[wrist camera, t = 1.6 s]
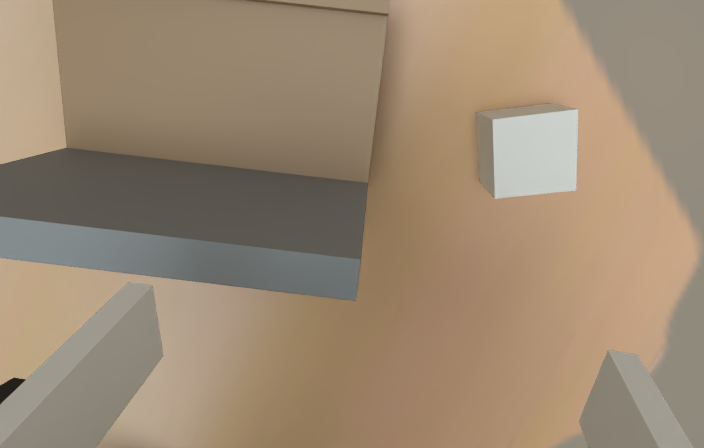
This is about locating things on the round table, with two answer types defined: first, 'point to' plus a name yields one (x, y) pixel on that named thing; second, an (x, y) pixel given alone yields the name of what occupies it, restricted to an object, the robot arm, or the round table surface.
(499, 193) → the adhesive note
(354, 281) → the board
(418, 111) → the round table surface
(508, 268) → the round table surface
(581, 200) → the round table surface
